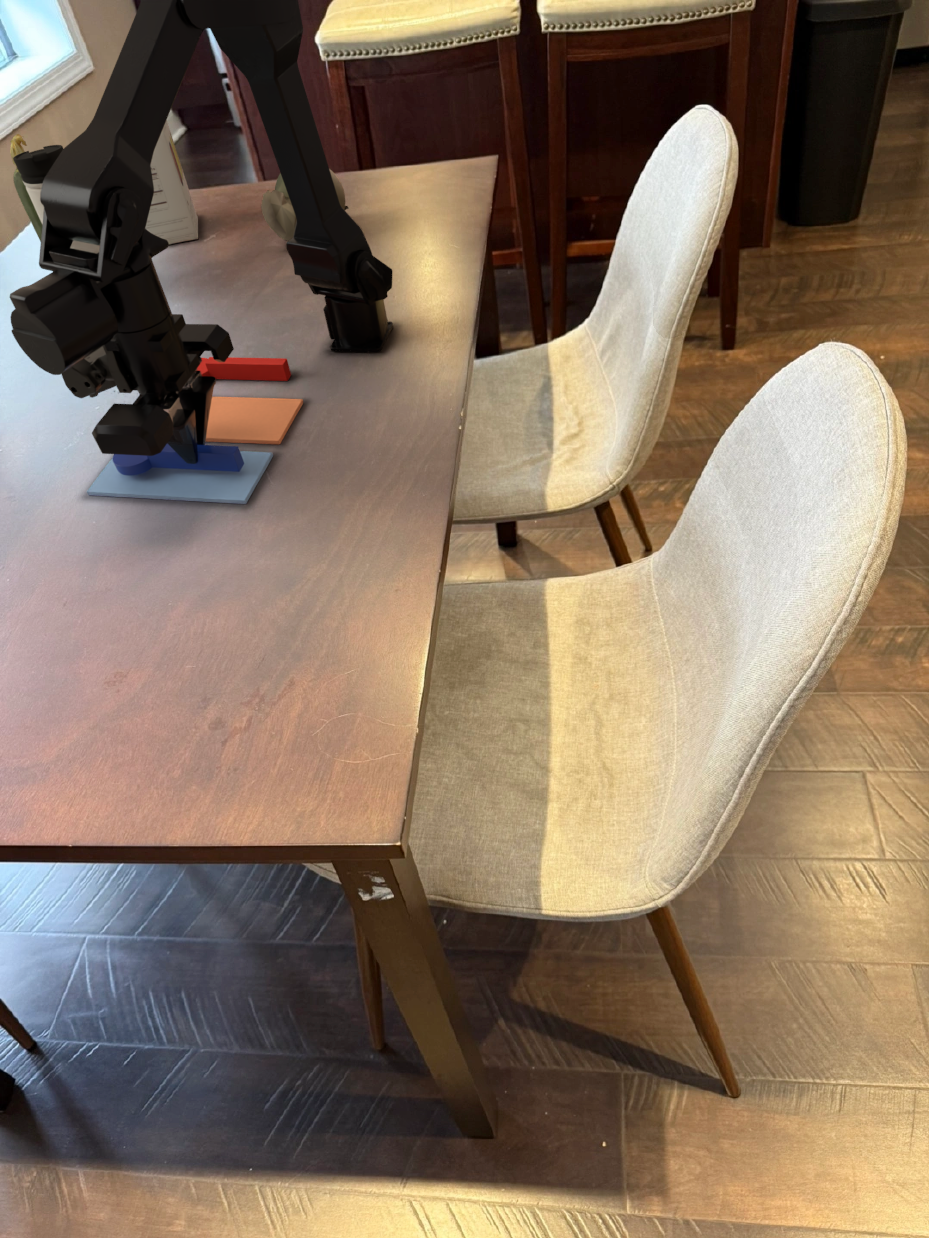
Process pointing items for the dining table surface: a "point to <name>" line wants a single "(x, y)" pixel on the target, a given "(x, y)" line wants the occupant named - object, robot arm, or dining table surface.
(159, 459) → the blue spoon
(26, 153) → the travel mug
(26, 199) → the vegetable
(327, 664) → the dining table surface
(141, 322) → the robot arm
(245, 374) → the red spoon
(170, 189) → the supplement box
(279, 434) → the terracotta mat
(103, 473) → the blue mat
